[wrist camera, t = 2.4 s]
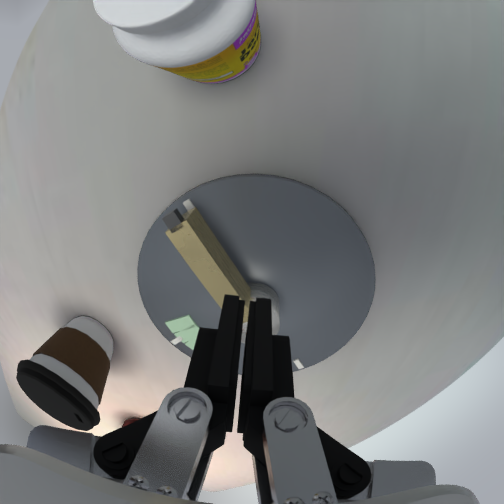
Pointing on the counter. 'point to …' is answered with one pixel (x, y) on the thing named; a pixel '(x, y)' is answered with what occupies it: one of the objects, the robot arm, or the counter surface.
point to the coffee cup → (70, 373)
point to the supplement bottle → (187, 35)
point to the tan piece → (215, 264)
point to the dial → (265, 264)
